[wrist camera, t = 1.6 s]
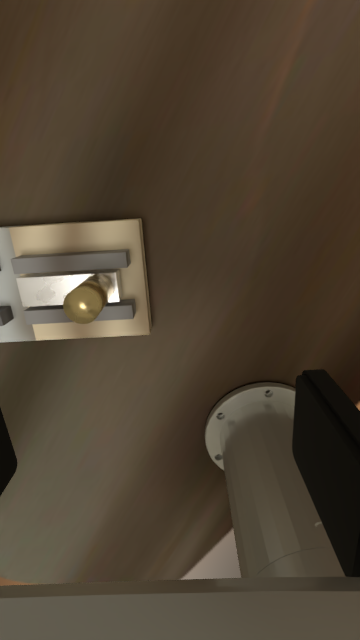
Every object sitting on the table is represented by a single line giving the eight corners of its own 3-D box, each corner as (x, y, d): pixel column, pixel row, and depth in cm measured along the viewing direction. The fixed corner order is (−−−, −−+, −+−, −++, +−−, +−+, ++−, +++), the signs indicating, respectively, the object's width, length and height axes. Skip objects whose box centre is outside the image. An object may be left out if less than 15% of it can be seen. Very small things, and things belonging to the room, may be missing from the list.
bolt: (119, 268, 26) (101, 288, 20) (122, 295, 27) (106, 322, 21) (25, 273, 27) (-21, 295, 21) (31, 301, 27) (-11, 328, 21)
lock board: (141, 218, 27) (135, 221, 23) (151, 326, 30) (147, 342, 27) (-98, 232, 27) (-140, 237, 24) (-61, 337, 31) (-92, 355, 27)
